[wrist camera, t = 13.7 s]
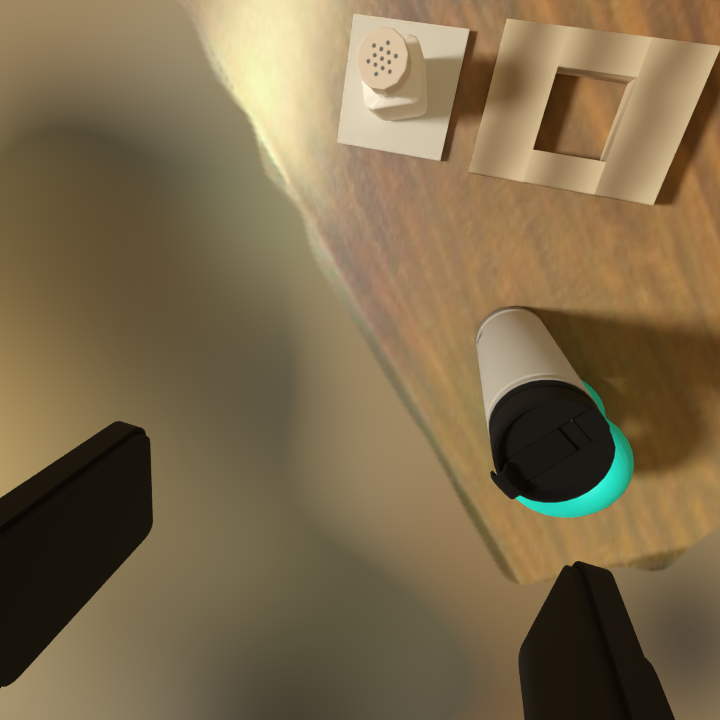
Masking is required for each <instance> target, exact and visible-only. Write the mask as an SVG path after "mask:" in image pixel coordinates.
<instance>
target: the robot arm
mask: <svg viewBox="0 0 720 720" xmlns="http://www.w3.org/2000/svg"><path fill="white" fill-rule="evenodd" d="M152 524H153V511H152V482H151V453H150V439H149V437H147V436H146V433H145V431H144V429H143V428H141V427H137V426H134V425H131V424H128V423H124V422H121V421H117V422H114V423H112V424H110V425H109V426H107V427H106V428H104V429H103V430H101V431H100V432H99V433H97V434H95V435H94V436H93V437H91V438H90V439H88V440H87V441H85V442H84V443H82V444H81V445H79V446H78V447H76V448H75V449H73V450H72V451H70V452H69V453H67V454H66V455H64V456H63V457H61V458H60V459H58V460H57V461H55V462H54V463H52V464H51V465H49V466H48V467H46V468H45V469H43V470H42V471H40V472H39V473H37V474H36V475H34V476H33V477H31V478H30V479H28V480H27V481H25V482H24V483H22V484H21V485H19V486H18V487H16V488H15V489H13V490H12V491H10V492H9V493H7V494H6V495H4V496H3V497H1V498H0V688H1V687H2V686H3V687H5V686H8V685H10V684H11V683H13V682H14V681H15V680H16V679H17V678H18V677H19V676H20V675H21V674H22V673H23V672H24V671H25V670H26V669H27V668H28V667H29V665H30V664H31V663H32V662H33V661H34V660H35V659H36V658H37V657H38V656H39V655H40V653H41V652H42V651H43V650H44V649H45V648H46V647H47V646H48V645H49V644H50V642H51V641H52V640H53V639H54V638H55V637H56V636H57V635H58V633H60V631H61V630H62V629H63V628H64V627H65V626H66V625H67V624H68V623H69V622H70V620H71V619H72V618H73V617H74V616H75V615H76V614H77V613H78V612H79V610H80V609H81V608H82V607H83V606H84V605H85V604H86V603H87V602H88V601H89V600H90V599H91V597H92V596H93V595H94V594H95V593H96V592H97V591H98V590H99V589H100V588H101V587H102V585H103V584H104V583H105V582H106V581H107V580H108V579H109V578H110V577H111V576H112V574H113V573H114V572H115V571H116V570H117V569H118V568H119V567H120V566H121V564H122V563H123V562H124V561H125V560H126V559H127V558H128V557H129V556H130V554H132V552H133V551H134V550H135V549H136V548H137V547H138V546H139V545H140V544H141V543H142V541H143V540H144V539H145V538H146V537H147V535H148V534H149V532H150V530H151V528H152ZM519 674H520V682H521V691H522V699H523V709H524V717H525V720H675V719H674V716H673V713H672V711H671V709H670V706H669V703H668V701H667V698H666V696H665V693H664V691H663V688H662V686H661V683H660V681H659V678H658V676H657V674H656V672H655V670H654V668H653V666H652V665H651V663H650V662H649V661H648V660H647V659H646V658H645V657H644V655H643V652H642V649H641V647H640V644H639V641H638V639H637V636H636V634H635V631H634V629H633V626H632V623H631V621H630V618H629V615H628V613H627V610H626V608H625V605H624V602H623V600H622V597H621V595H620V592H619V589H618V587H617V585H616V582H615V579H614V577H613V575H612V573H611V572H610V571H609V570H607V569H604V568H600V567H597V566H594V565H591V564H587V563H584V562H581V561H577V562H575V563H574V564H573V566H572V567H571V566H568V565H566V566H564V567H563V569H562V571H561V572H560V574H559V576H558V578H557V580H556V582H555V584H554V586H553V587H552V589H551V591H550V593H549V595H548V597H547V599H546V601H545V602H544V604H543V606H542V608H541V610H540V612H539V614H538V616H537V617H536V619H535V621H534V623H533V625H532V627H531V629H530V631H529V632H528V634H527V637H526V638H525V640H524V642H523V644H522V646H521V648H520V652H519Z"/></svg>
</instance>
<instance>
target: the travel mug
mask: <svg viewBox="0 0 720 720" xmlns="http://www.w3.org/2000/svg"><path fill="white" fill-rule="evenodd" d="M476 346H477V353H478V361H479V368H480V376H481V383H482V390H483V398H484V405H485V413H486V420H487V428H488V433H489V438H490V443H491V449H492V457H493V462H494V466H495V469H496V472H497V475H496V474H495V473H494V472H493V471H491V472H490V473H491V478H492V480H493V481H494V483H495V484H496V485H497V486H498V487H499V488H500V489H501V490H502V491H503V492H504V494H505V495H507V496H508V497H509V498H510V499H515V498H516V497H518V496H522V497H524V498H526V499H529V500H532V501H537V502H543V503H557V502H564V501H568V500H572V499H575V498H578V497H580V496H582V495H584V494H586V493H588V492H589V491H590V490H592V489H593V488H595V487H596V486H597V485H598V484H599V483H600V482H601V481H602V480H603V479H604V478H605V476H606V475H607V473H608V472H609V470H610V468H611V466H612V463H613V460H614V457H615V449H616V447H615V443H614V440H613V437H612V434H611V432H610V425H609V424H608V422H607V421H606V419H605V418H604V416H603V415H602V413H601V412H600V410H599V407H598V405H597V404H596V402H595V401H594V399H593V398H592V396H591V395H590V393H589V392H588V390H587V389H586V387H585V386H584V384H583V383H582V381H581V380H580V378H579V377H578V375H577V374H576V372H575V371H574V369H573V368H572V366H571V365H570V363H569V362H568V360H567V359H566V357H565V356H564V354H563V353H562V351H561V350H560V348H559V347H558V345H557V344H556V342H555V341H554V339H553V338H552V336H551V335H550V333H549V331H548V330H547V328H546V327H545V325H544V324H543V322H542V321H541V320H540V318H539V317H538V316H537V315H536V314H535V313H533V312H532V311H530V310H528V309H525V308H522V307H516V306H513V307H504V308H500V309H498V310H495V311H494V312H492V313H491V314H489V315H488V316H487V317H486V318H485V319H484V320H483V321H482V323H481V324H480V326H479V328H478V330H477V335H476Z"/></svg>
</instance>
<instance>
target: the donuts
mask: <svg viewBox="0 0 720 720" xmlns="http://www.w3.org/2000/svg"><path fill="white" fill-rule="evenodd" d="M580 380H581V379H580ZM581 381H582V380H581ZM582 383H583V384H584V386H585V387H586V389H587V390H588V392H589V393H590V395H591V396H592V398H593V399H594V401H595V402H596V404H597V405H598V407H599V410H600V412H601V413H602V415H603V416H604V418H605V419H606V421H607V422H608V424H609V425H610V432H611V434H612V437H613V440H614V443H615V447H616V449H615V457H614V460H613V463H612V466H611V468H610V470H609V472H608V473H607V475H606V476H605V478H604V479H603V480H602V481H601V482H600V483H599V484H598V485H597V486H596V487H595V488H593V489H592V490H590V491H589V492H588V493H586V494H584V495H582V496H580V497H578V498H575V499H572V500H568V501H564V502H557V503H543V502H537V501H532V500H529V499H526V498H524V497H522V496H518V497H516V499H517V500H518V501H520V502H521V503H522V504H524V505H525V506H527V507H529V508H530V509H532V510H534V511H537V512H539V513H542V514H545V515H549V516H555V517H580V516H585V515H589V514H593V513H595V512H598V511H600V510H602V509H604V508H606V507H608V506H610V505H611V504H612V503H614V502H615V501H616V500H617V499H618V498H619V497H620V496H621V495H622V494H623V493H624V492H625V490H626V488H627V487H628V485H629V483H630V481H631V478H632V475H633V470H634V458H633V452H632V449H631V446H630V444H629V442H628V440H627V438H626V437H625V435H624V434H623V432H622V431H621V430H620V429H619V428H618V427H617V426H616V425H615V424H614V423H612V422H611V421H610V420H608V419H607V418H606V415H605V409H604V405H603V403H602V401H601V399H600V397H599V396H598V394H597V393H596V392H595V390H594V389H593V388H592V387H591V386H589V385H588V384H587V383H586V382H584V381H582Z"/></svg>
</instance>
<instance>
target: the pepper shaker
mask: <svg viewBox="0 0 720 720" xmlns="http://www.w3.org/2000/svg"><path fill="white" fill-rule="evenodd" d="M356 64H357V67H358V71H359V74H360V77H361V79H362V85H363V94H364V102H365V104H366V106H367V108H368V109H369V110H370V111H371V112H372V113H373V114H375V115H376V116H377V117H378V118H379V119H380V120H384V121H391V120H397V119H404V118H410V117H417V116H421V115H423V114H424V113H426V110H427V79H426V63H425V60H424V56H423V53H422V49H421V46H420V43H419V40H418V38H417V37H416V36H414V35H411V34H406V35H400V34H399V33H398V32H397V31H396V30H395V29H394V28H386V27H379V28H377V29H375V30H373V31H371V32H369V33H368V34H367V35H366V36H365V38H364V39H363V41H362V43H361V44H360V46H359V47H358V55H357V63H356Z"/></svg>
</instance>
